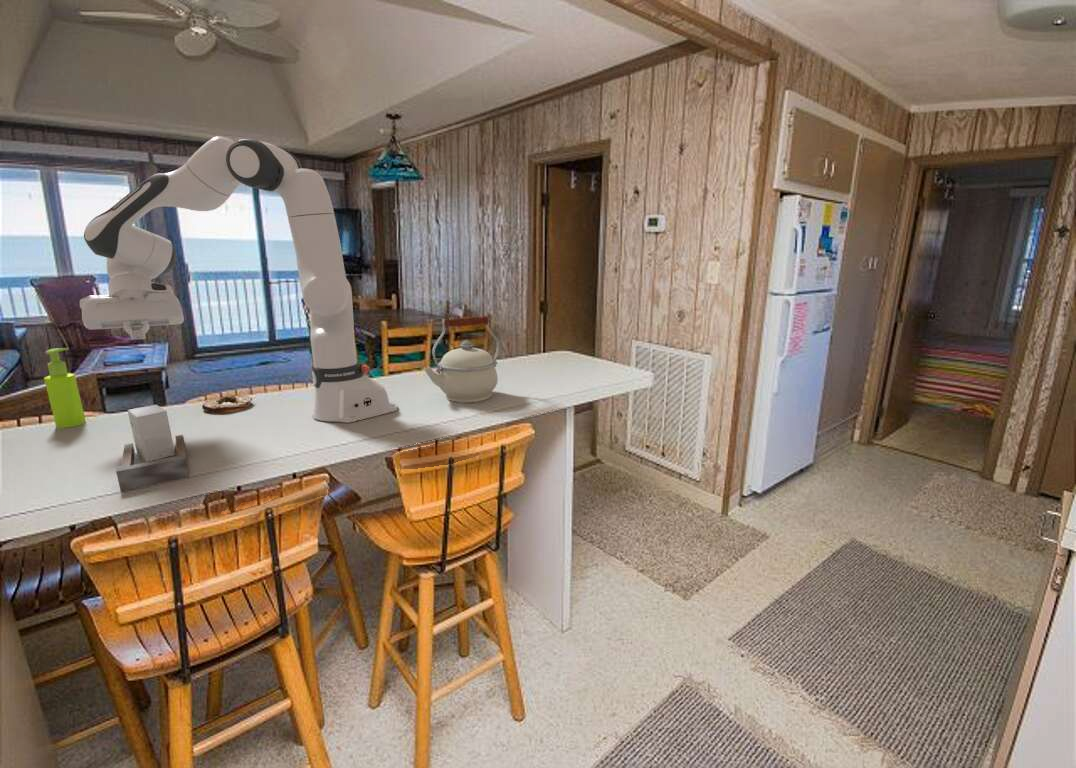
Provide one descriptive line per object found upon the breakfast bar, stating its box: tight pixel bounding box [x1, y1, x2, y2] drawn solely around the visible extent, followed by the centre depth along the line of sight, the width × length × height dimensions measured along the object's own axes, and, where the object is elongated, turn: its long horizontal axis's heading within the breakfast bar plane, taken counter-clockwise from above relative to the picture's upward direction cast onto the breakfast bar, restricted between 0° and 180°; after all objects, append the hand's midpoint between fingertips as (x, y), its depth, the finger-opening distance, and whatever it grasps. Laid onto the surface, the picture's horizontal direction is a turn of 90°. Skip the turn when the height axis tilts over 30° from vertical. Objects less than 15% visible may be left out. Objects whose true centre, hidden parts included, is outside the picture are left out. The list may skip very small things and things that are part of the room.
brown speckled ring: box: [201, 394, 253, 416], centre depth 150 cm, size 15×15×4 cm
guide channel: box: [115, 434, 190, 492], centre depth 111 cm, size 11×23×4 cm, turn 35°
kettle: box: [422, 315, 500, 404], centre depth 157 cm, size 25×18×25 cm
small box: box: [127, 404, 176, 463], centre depth 115 cm, size 8×6×10 cm
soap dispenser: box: [43, 347, 87, 429], centre depth 133 cm, size 6×7×20 cm
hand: (138, 338), depth 127 cm, fingers closed
